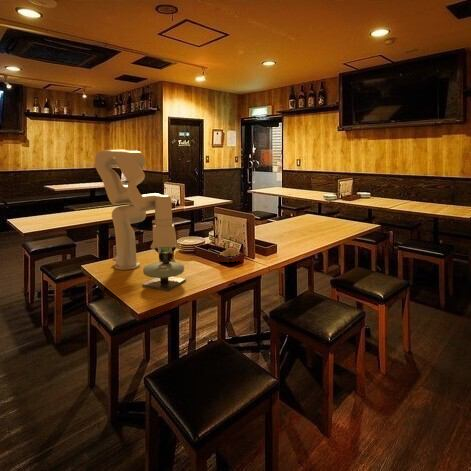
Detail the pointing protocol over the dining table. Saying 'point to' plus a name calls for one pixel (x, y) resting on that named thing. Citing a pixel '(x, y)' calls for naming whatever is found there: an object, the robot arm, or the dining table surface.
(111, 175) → the robot arm
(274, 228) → the dining table surface
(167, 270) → the handwheel
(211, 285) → the dining table surface
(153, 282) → the wheel stand
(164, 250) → the food container
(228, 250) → the decorative item
